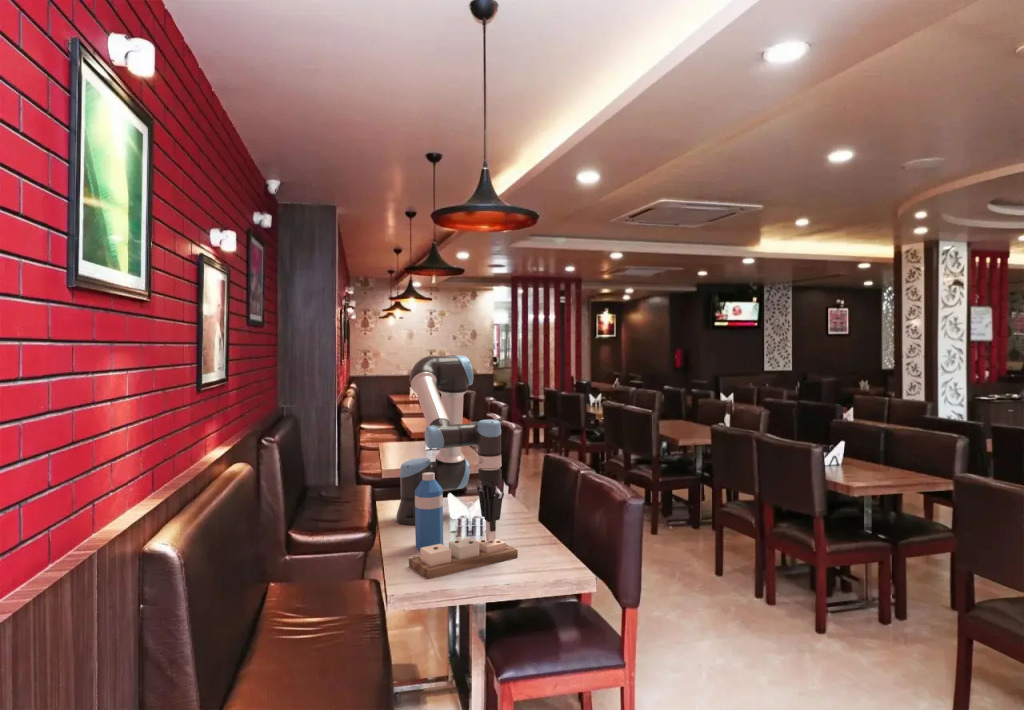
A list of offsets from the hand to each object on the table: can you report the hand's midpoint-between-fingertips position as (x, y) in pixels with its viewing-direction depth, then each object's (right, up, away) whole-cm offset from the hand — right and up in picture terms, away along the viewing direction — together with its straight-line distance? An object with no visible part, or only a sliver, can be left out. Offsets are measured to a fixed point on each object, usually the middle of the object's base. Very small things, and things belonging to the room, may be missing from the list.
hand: (490, 540), depth 212 cm
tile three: (0, -5, 0) cm, 5 cm away
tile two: (-8, -3, -5) cm, 10 cm away
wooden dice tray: (-8, -5, -5) cm, 11 cm away
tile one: (-16, -3, -11) cm, 20 cm away
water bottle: (-21, -5, +10) cm, 24 cm away
